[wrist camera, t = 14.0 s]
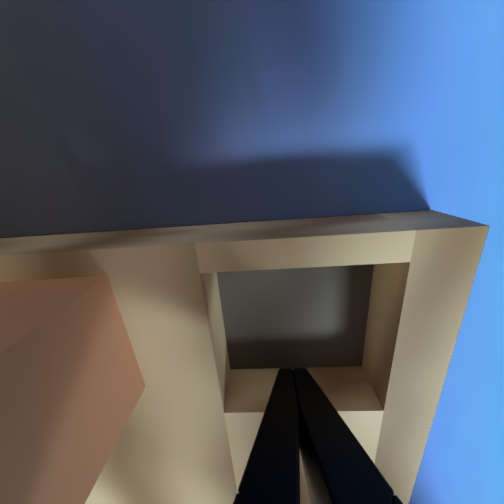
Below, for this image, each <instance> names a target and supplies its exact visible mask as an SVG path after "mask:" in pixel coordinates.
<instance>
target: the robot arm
mask: <svg viewBox="0 0 504 504" xmlns="http://www.w3.org/2000/svg"><path fill="white" fill-rule="evenodd" d="M300 454H301V459H302V464H303V469H304V473H305V478H306V483H307V488H308V492H309V497H310V502H311V504H403V503H402V501H401V500H400V499H399V497H398V496H397V495H394V491H393V489H392V488H391V486H390V485H389V483H388V482H387V481H386V479H385V478H384V476H383V475H382V474H381V472H380V471H379V469H378V468H377V467H376V465H375V464H374V462H373V461H372V460H371V458H370V457H369V455H368V454H367V453H366V451H365V450H364V448H363V447H362V446H361V444H360V443H359V441H358V440H357V439H356V437H355V436H354V434H353V433H352V431H351V430H350V429H349V427H348V426H347V424H346V423H345V422H344V420H343V419H342V417H341V416H340V415H339V413H338V412H337V410H336V409H335V408H334V406H333V405H332V403H331V402H330V401H329V399H328V398H327V396H326V395H325V394H324V392H323V391H322V389H321V388H320V387H319V385H318V384H317V382H316V381H315V380H314V378H313V377H312V375H311V374H310V372H309V371H308V370H307V369H306V368H305V367H294V368H293V370H292V368H290V367H287V368H280V369H279V370H278V373H277V376H276V379H275V382H274V385H273V388H272V391H271V394H270V397H269V399H268V402H267V405H266V408H265V411H264V414H263V417H262V420H261V423H260V426H259V429H258V432H257V435H256V438H255V441H254V444H253V446H252V449H251V452H250V455H249V458H248V461H247V464H246V467H245V470H244V473H243V476H242V479H241V482H240V485H239V488H238V493H237V494H236V496H235V499H234V502H233V504H300Z"/></svg>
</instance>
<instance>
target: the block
mask: <svg viewBox="0 0 504 504" xmlns="http://www.w3.org/2000/svg"><path fill="white" fill-rule="evenodd" d="M145 387H146V386H145V383H144V380H143V377H142V374H141V371H140V368H139V365H138V362H137V359H136V357H135V354H134V351H133V348H132V345H131V342H130V339H129V336H128V333H127V330H126V327H125V324H124V321H123V319H122V316H121V313H120V310H119V307H118V304H117V301H116V298H115V295H114V292H113V289H112V286H111V283H110V281H109V278H108V275H105V276H90V277H75V278H60V279H44V280H29V281H14V282H0V504H85V502H86V500H87V498H88V496H89V495H90V493H91V491H92V489H93V487H94V485H95V483H96V481H97V479H98V477H99V475H100V473H101V472H102V470H103V468H104V466H105V464H106V462H107V460H108V458H109V456H110V454H111V452H112V450H113V449H114V447H115V445H116V443H117V441H118V439H119V437H120V435H121V433H122V431H123V429H124V427H125V425H126V424H127V422H128V420H129V418H130V416H131V414H132V412H133V410H134V408H135V406H136V404H137V402H138V401H139V399H140V397H141V395H142V393H143V391H144V389H145Z"/></svg>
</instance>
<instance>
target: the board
mask: <svg viewBox="0 0 504 504" xmlns="http://www.w3.org/2000/svg"><path fill="white" fill-rule="evenodd" d="M488 230H489V226H488V225H485V224H481V223H477V222H474V221H470V220H466V219H463V218H459V217H455V216H452V215H448V214H444V213H441V212H437V211H433V210H425V211H409V212H394V213H379V214H364V215H349V216H333V217H318V218H303V219H288V220H272V221H257V222H242V223H227V224H211V225H196V226H181V227H166V228H151V229H135V230H120V231H105V232H90V233H74V234H59V235H44V236H29V237H14V238H0V282H14V281H29V280H44V279H60V278H75V277H90V276H105V275H108V278H109V281H110V283H111V286H112V289H113V292H114V295H115V298H116V301H117V304H118V307H119V310H120V313H121V316H122V319H123V321H124V324H125V327H126V330H127V333H128V336H129V339H130V342H131V345H132V348H133V351H134V354H135V357H136V359H137V362H138V365H139V368H140V371H141V374H142V377H143V380H144V383H145V386H146V387H145V389H144V391H143V393H142V395H141V397H140V399H139V401H138V402H137V404H136V406H135V408H134V410H133V412H132V414H131V416H130V418H129V420H128V422H127V424H126V425H125V427H124V429H123V431H122V433H121V435H120V437H119V439H118V441H117V443H116V445H115V447H114V449H113V450H112V452H111V454H110V456H109V458H108V460H107V462H106V464H105V466H104V468H103V470H102V472H101V473H100V475H99V477H98V479H97V481H96V483H95V485H94V487H93V489H92V491H91V493H90V495H89V496H88V498H87V500H86V502H85V504H233V502H234V499H235V496H236V494H237V493H238V488H239V485H240V482H241V479H242V476H243V473H244V470H245V467H246V464H247V461H248V458H249V455H250V452H251V449H252V446H253V444H254V441H255V438H256V435H257V432H258V429H259V426H260V423H261V420H262V417H263V414H264V411H265V408H266V405H267V402H268V399H269V397H270V394H271V391H272V388H273V385H274V382H275V379H276V376H277V373H278V370H279V369H280V368H287V367H290V368H292V370H293V368H294V367H305V368H306V369H307V370H308V371H309V372H310V374H311V375H312V377H313V378H314V380H315V381H316V382H317V384H318V385H319V387H320V388H321V389H322V391H323V392H324V394H325V395H326V396H327V398H328V399H329V401H330V402H331V403H332V405H333V406H334V408H335V409H336V410H337V412H338V413H339V415H340V416H341V417H342V419H343V420H344V422H345V423H346V424H347V426H348V427H349V429H350V430H351V431H352V433H353V434H354V436H355V437H356V439H357V440H358V441H359V443H360V444H361V446H362V447H363V448H364V450H365V451H366V453H367V454H368V455H369V457H370V458H371V460H372V461H373V462H374V464H375V465H376V467H377V468H378V469H379V471H380V472H381V474H382V475H383V476H384V478H385V479H386V481H387V482H388V483H389V485H390V486H391V488H392V489H393V491H394V495H397V496H398V497H399V499H400V500H401V501H402V503H403V504H409V501H410V498H411V494H412V491H413V487H414V484H415V480H416V477H417V474H418V470H419V467H420V463H421V460H422V456H423V453H424V450H425V446H426V443H427V439H428V436H429V432H430V429H431V426H432V422H433V419H434V415H435V412H436V408H437V405H438V401H439V398H440V395H441V391H442V388H443V384H444V381H445V377H446V374H447V371H448V367H449V364H450V360H451V357H452V353H453V350H454V347H455V343H456V340H457V336H458V333H459V329H460V326H461V323H462V319H463V316H464V312H465V309H466V305H467V302H468V299H469V295H470V292H471V288H472V285H473V281H474V278H475V274H476V271H477V268H478V264H479V261H480V257H481V254H482V250H483V247H484V244H485V240H486V237H487V233H488ZM300 504H311V502H310V497H309V492H308V488H307V483H306V478H305V473H304V469H303V464H302V459H301V454H300Z"/></svg>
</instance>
